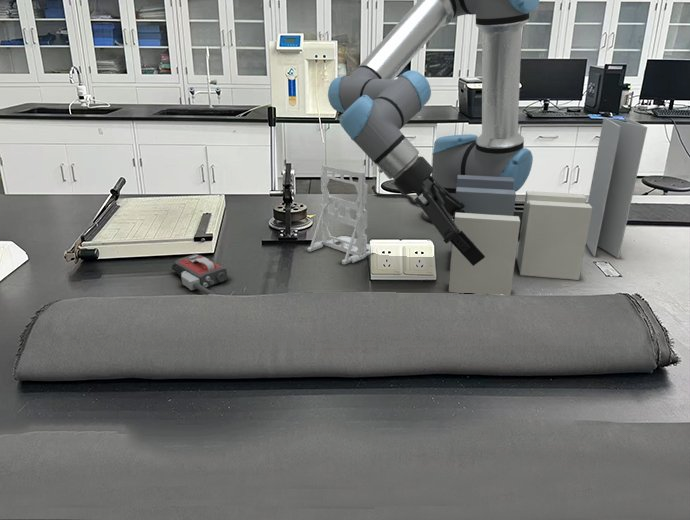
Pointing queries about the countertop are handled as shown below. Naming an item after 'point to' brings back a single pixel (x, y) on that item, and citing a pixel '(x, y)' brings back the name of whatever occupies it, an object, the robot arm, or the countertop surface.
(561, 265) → the white books
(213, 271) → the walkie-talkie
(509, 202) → the grey books
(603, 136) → the brochure
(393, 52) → the robot arm
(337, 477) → the countertop surface
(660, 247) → the countertop surface
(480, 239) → the white book
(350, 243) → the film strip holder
